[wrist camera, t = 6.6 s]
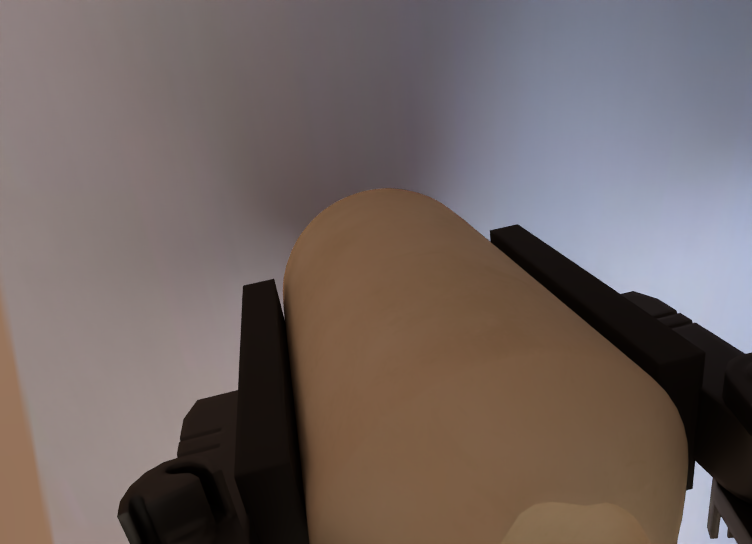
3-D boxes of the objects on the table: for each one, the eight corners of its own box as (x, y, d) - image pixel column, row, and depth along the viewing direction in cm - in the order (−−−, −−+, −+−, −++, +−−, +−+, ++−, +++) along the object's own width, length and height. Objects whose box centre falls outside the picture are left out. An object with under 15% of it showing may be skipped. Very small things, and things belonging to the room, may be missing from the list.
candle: (510, 230, 16) (864, 487, 7) (423, 389, 17) (613, 781, 8) (332, 150, 14) (480, 354, 5) (250, 336, 15) (244, 764, 6)
